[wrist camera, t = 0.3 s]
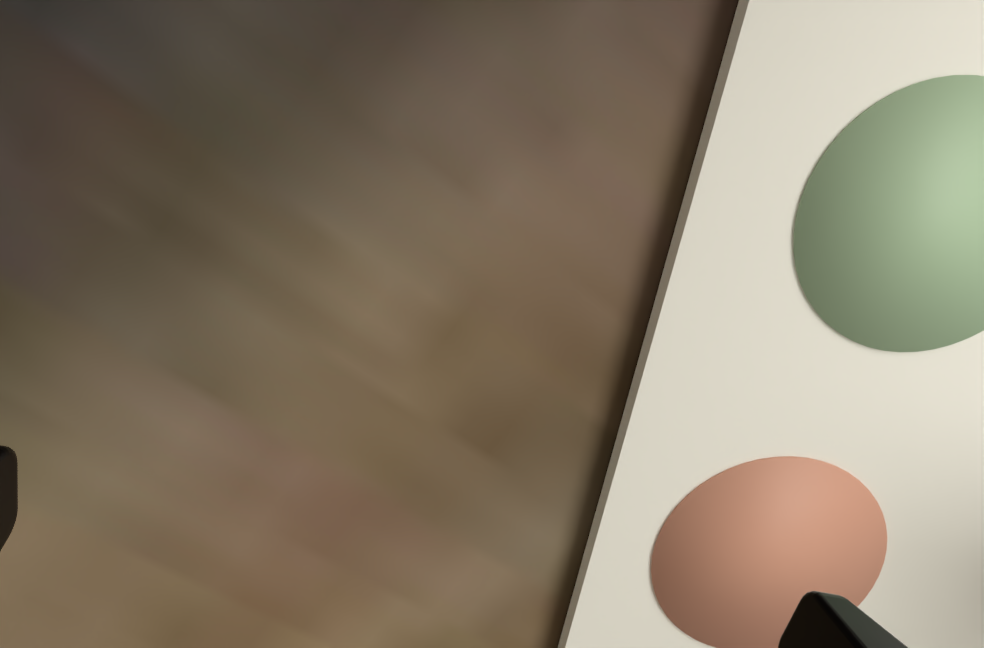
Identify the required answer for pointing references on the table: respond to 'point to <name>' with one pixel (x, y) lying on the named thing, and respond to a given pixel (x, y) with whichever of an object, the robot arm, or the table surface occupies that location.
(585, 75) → the table surface
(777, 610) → the white square board
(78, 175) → the table surface
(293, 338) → the table surface
